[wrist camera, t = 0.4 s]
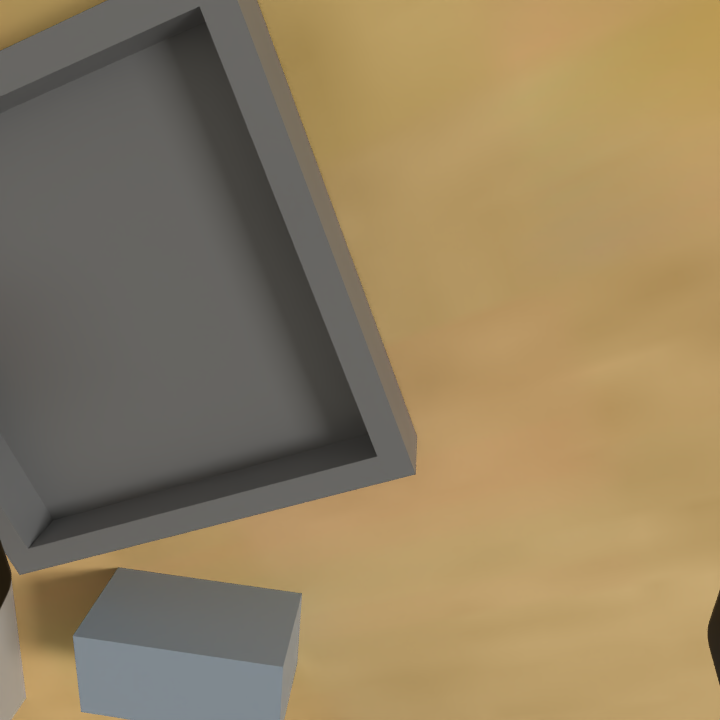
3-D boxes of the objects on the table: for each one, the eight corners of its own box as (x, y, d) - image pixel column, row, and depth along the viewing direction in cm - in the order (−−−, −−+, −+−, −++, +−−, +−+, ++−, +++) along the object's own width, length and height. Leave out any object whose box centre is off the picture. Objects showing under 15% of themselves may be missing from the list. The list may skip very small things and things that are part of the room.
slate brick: (302, 590, 27) (282, 667, 23) (297, 660, 29) (278, 742, 25) (120, 564, 28) (72, 635, 24) (125, 634, 29) (81, 711, 25)
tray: (417, 436, 24) (415, 474, 21) (56, 532, 27) (19, 574, 25) (245, -32, 18) (218, -52, 16) (-174, 160, 22) (-249, 167, 20)
